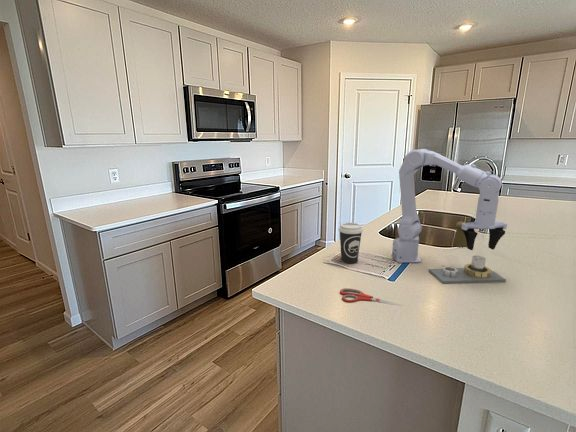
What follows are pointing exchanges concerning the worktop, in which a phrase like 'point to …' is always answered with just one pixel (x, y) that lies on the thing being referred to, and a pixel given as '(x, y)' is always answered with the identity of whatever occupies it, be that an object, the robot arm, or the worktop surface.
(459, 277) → the fitting board
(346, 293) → the scissors
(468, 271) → the wide socket
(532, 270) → the worktop surface
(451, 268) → the narrow socket
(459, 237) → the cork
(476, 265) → the metal cylinder peg
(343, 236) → the coffee cup
